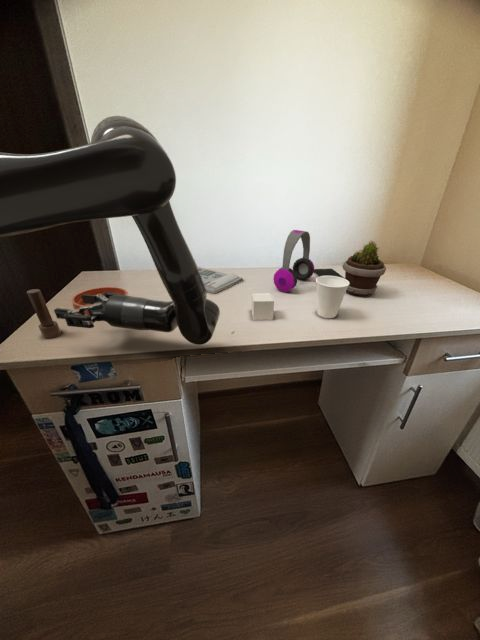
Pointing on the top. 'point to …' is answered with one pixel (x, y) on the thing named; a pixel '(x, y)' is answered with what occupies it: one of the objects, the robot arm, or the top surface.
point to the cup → (330, 295)
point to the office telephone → (217, 280)
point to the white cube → (262, 306)
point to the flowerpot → (364, 271)
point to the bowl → (79, 302)
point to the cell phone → (327, 272)
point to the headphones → (302, 267)
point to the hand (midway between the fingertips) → (70, 305)
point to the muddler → (43, 315)
